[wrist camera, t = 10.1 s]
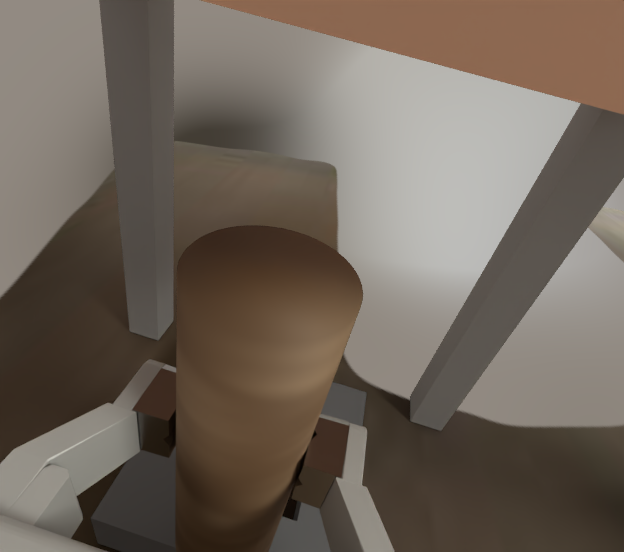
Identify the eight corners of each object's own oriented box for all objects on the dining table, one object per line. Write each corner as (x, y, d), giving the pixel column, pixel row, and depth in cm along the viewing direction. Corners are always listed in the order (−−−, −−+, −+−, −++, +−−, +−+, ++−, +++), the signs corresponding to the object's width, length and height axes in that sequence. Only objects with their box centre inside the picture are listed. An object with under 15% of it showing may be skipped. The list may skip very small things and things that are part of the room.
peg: (261, 473, 16) (327, 227, 9) (282, 571, 14) (394, 332, 7) (173, 493, 15) (172, 223, 8) (177, 604, 13) (182, 352, 6)
